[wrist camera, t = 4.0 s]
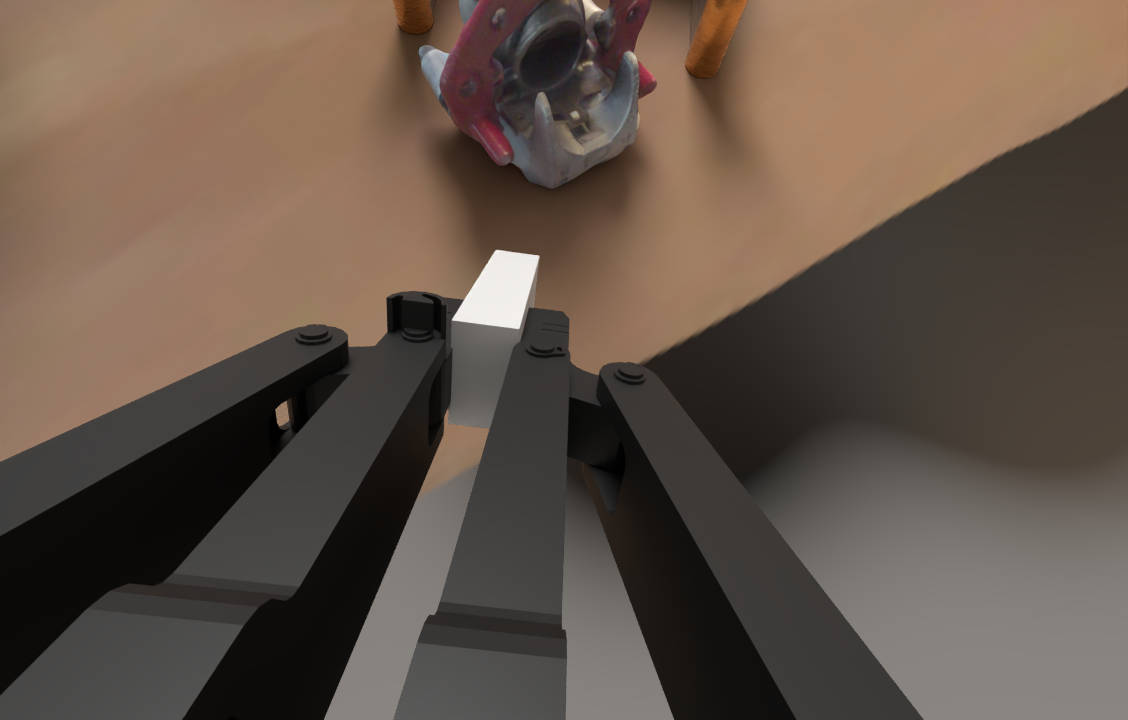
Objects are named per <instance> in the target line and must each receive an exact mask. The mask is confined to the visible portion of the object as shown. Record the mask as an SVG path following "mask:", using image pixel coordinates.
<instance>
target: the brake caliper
mask: <svg viewBox="0 0 1128 720" xmlns="http://www.w3.org/2000/svg"><path fill="white" fill-rule="evenodd" d="M650 5H651V0H610V4H609V6H608V8H607V10H606V11H603V10H601V9H600V8H598V7H597V6H596V5H595V4H594V3H593V1H592V0H459V9H460V14H461V18H462V20H463V23H464V27H463V29H462V32H461V34H460V37H459V39H458V41H457V42H456V44H455V46H454V47H453V48H452V50H451V52H450V53H444V52H442V51H440V50H438V49H436V48H435V47H433V46H430V45H424V46H422V47H420V49H419V57H420V60H421V68H422V72H423V74H424V76H425V78H426V80H427V81H428V82H429V84H430V85H431V87H432V89H433V91H434V94H435V96H436V98H437V99H438V101H439V102H440V103H441V105H442V106H443V107H444V108H445V110H446V111H447V113H448V114H449V116H450V117H451V119H452V120H453V122H454V124H455V125H456V126H457V127H458V128H459V129H460V130H461V131H463V132H464V133H465V134H467V135H468V136H470V137H471V138H473V139H475V140H476V141H478V142H480V143H481V144H482V145H483V147H484V149H485V150H486V152H487V153H488V155H489V156H490V157H491V158H492V160H493V161H494V162H495V163H496V164H498V165H499V166H504V165H507V164H508V163H513V164H514V165H515V166H517V167H518V168H519V169H520V170H521V171H522V172H523V174H524V176H525V177H526V178H527V180H528V181H530V182H531V183H534V184H538V185H542V186H544V187H546V188H550V189H554V188H556V187H559V186H560V185H562V184H564V183H566V182H569V181H570V180H572V179H574V178H576V177H577V176H579V175H581V174H582V173H584V172H585V171H587V170H588V169H589V168H591V167H592V166H594V165H597V164H601V163H604V162H606V161H608V160H610V159H611V158H613V157H615V156H617V155H619V154H621V153H622V152H623V151H625V150H626V149H627V148H629V147H630V146H631V145H632V144H633V143H634V142H635V140H636V131H637V130H638V129H639V123H640V116H639V113H638V99H640V98H642V97H644V96H645V95H647V94H649V93H651V92H652V91H653V90H654V89H655V87H656V86H657V82H656V80H655V78H654V77H653V75H652V74H651V73H650V72H649V71H648V70H647V69H646V68H645V67H644V66H643V65H642V64H641V63H640V62H639V61H638V60H637V59H636V57H635V55H634V54H633V52H634V49H635V44H636V40H637V37H638V34H639V31H640V30H641V28H642V26H643V23H644V21H645V18H646V16H647V14H648V12H649V8H650ZM632 10H633V11H632Z"/></svg>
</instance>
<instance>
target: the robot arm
mask: <svg viewBox="0 0 1128 720" xmlns="http://www.w3.org/2000/svg"><path fill="white" fill-rule="evenodd" d="M538 265H539V256H538V255H530V254H523V253H516V252H508V251H501V250H495V252H494V254H493V255H492V257H491V258H490V260H489V262H488V263H487V265H486V266H485V268H484V270H483V271H482V273H481V274H480V276H479V277H478V279H477V281H476V282H475V284H474V285H473V287H472V289H471V290H470V292H469V293H468V295H467V297H466V298H465V300H460V299H452V298H445V297H441V296H439V295H436V294H432V293H428V292H417V291H410V292H400V293H396V294H392V295H390V296H388V297H387V328H388V332H387V333H386V334H385V335H384V337H383V338H382V339H381V340H380V341H379V342H378V343H377V344H376V346H369V347H348V335H347V334H346V333H345V332H344V331H343V330H341V329H338V328H336V327H330V326H326V325H320V324H318V326H316V324H313V325H307V326H305V327H298V328H295V329H292V330H289V331H286V332H284V333H282V334H280V335H278V336H275V337H273V338H271V339H269V340H267V341H264V342H262V343H260V344H258V345H256V346H253V347H251V348H249V349H247V350H245V351H243V352H240V353H238V354H236V355H234V356H232V357H229V358H227V359H225V360H223V361H221V362H218V363H216V364H214V365H212V366H210V367H207V368H205V369H203V370H201V371H199V372H197V373H194V374H192V375H190V376H188V377H186V378H183V379H181V380H179V381H177V382H175V383H172V384H170V385H168V386H166V387H164V388H161V389H159V390H157V391H155V392H153V393H150V394H148V395H146V396H144V397H142V398H140V399H137V400H135V401H133V402H131V403H129V404H126V405H124V406H122V407H120V408H118V409H115V410H113V411H111V412H109V413H107V414H104V415H102V416H100V417H98V418H96V419H93V420H91V421H89V422H87V423H85V424H83V425H80V426H78V427H76V428H74V429H72V430H69V431H67V432H65V433H63V434H61V435H58V436H56V437H54V438H52V439H50V440H47V441H45V442H43V443H41V444H39V445H37V446H34V447H32V448H30V449H28V450H26V451H23V452H21V453H19V454H17V455H15V456H12V457H10V458H8V459H6V460H4V461H1V462H0V720H324V718H325V715H326V713H327V710H328V708H329V706H330V703H331V701H332V699H333V696H334V694H335V692H336V689H337V687H338V684H339V682H340V680H341V677H342V675H343V673H344V670H345V668H346V665H347V663H348V660H349V658H350V656H351V653H352V651H353V649H354V646H355V644H356V641H357V639H358V637H359V634H360V632H361V629H362V627H363V625H364V623H365V620H366V618H367V615H368V613H369V611H370V608H371V606H372V603H373V601H374V599H375V596H376V594H377V592H378V589H379V587H380V585H381V582H382V580H383V577H384V575H385V573H386V570H387V568H388V565H389V563H390V561H391V558H392V556H393V553H394V551H395V549H396V546H397V544H398V542H399V539H400V537H401V534H402V532H403V530H404V527H405V525H406V523H407V520H408V518H409V515H410V513H411V511H412V508H413V506H414V504H415V501H416V499H417V496H418V494H419V492H420V489H421V487H422V485H423V482H424V480H425V477H426V475H427V473H428V470H429V468H430V466H431V463H432V461H433V458H434V456H435V454H436V451H437V449H438V446H439V444H440V442H441V439H442V437H443V433H444V416H445V413H446V411H447V409H448V407H449V417H448V424H456V425H464V426H472V427H481V428H489V429H490V430H489V433H488V437H487V440H486V444H485V447H484V451H483V454H482V458H481V461H480V464H479V468H478V471H477V475H476V478H475V482H474V486H473V489H472V492H471V496H470V499H469V503H468V506H467V510H466V513H465V517H464V520H463V524H462V527H461V530H460V535H459V537H458V541H457V544H456V548H455V552H454V555H453V558H452V562H451V566H450V569H449V572H448V576H447V579H446V583H445V586H444V590H443V593H442V596H441V600H440V603H439V606H438V609H437V612H436V614H435V615H429V616H428V618H427V619H426V621H425V623H424V625H423V628H422V631H421V634H420V636H419V639H418V642H417V645H416V648H415V651H414V655H413V658H412V661H411V664H410V668H409V672H408V674H407V677H406V681H405V684H404V687H403V691H402V693H401V697H400V700H399V703H398V706H397V710H396V713H395V716H394V720H565V713H566V711H565V710H566V666H567V639H566V631H565V630H562V622H561V621H562V620H561V619H562V588H563V587H562V585H563V558H564V529H565V497H566V470H567V468H566V467H567V456H568V457H571V458H574V459H577V460H580V461H582V462H583V465H582V469H583V475H584V478H585V480H586V483H587V486H588V488H589V491H590V494H591V497H592V499H593V502H594V505H595V507H596V510H597V513H598V515H599V518H600V521H601V523H602V526H603V529H604V532H605V534H606V537H607V540H608V542H609V545H610V548H611V551H612V553H613V556H614V559H615V561H616V564H617V567H618V569H619V572H620V575H621V577H622V580H623V583H624V586H625V588H626V591H627V594H628V596H629V599H630V602H631V604H632V607H633V610H634V612H635V615H636V618H637V621H638V623H639V626H640V629H641V631H642V634H643V637H644V639H645V642H646V645H647V648H648V650H649V653H650V656H651V658H652V661H653V664H654V666H655V669H656V672H657V675H658V677H659V680H660V683H661V685H662V688H663V691H664V693H665V696H666V699H667V702H668V704H669V707H670V710H671V712H672V715H673V718H674V720H923V718H922V717H921V716H920V714H919V713H918V712H917V710H916V709H915V708H914V707H913V705H912V704H911V703H910V701H909V700H908V699H907V698H906V696H905V695H904V694H903V692H902V691H901V690H900V689H899V687H898V686H897V685H896V683H895V682H894V681H893V680H892V678H891V677H890V676H889V674H888V673H887V672H886V670H885V669H884V668H883V667H882V665H881V664H880V663H879V661H878V660H877V659H876V658H875V656H874V655H873V654H872V652H871V651H870V650H869V649H868V647H867V646H866V645H865V644H864V642H863V641H862V639H861V638H860V637H859V636H858V634H857V633H856V632H855V631H854V629H853V628H852V627H851V625H850V624H849V623H848V621H847V620H846V619H845V618H844V616H843V615H842V614H841V612H840V611H839V610H838V608H837V607H836V606H835V605H834V603H833V602H832V601H831V599H830V598H829V597H828V596H827V594H826V593H825V592H824V590H823V589H822V588H821V587H820V585H819V584H818V583H817V581H816V580H815V579H814V578H813V576H812V575H811V574H810V572H809V571H808V570H807V568H806V567H805V566H804V565H803V563H802V562H801V561H800V559H799V558H798V557H797V556H796V554H795V553H794V552H793V550H792V549H791V548H790V547H789V545H788V544H787V543H786V541H785V540H784V539H783V538H782V536H781V535H780V534H779V532H778V531H777V530H776V528H775V527H774V526H773V525H772V523H771V522H770V521H769V520H768V518H767V517H766V516H765V514H764V513H763V512H762V510H761V509H760V508H759V507H758V505H757V504H756V503H755V501H754V500H753V499H752V497H751V496H750V495H749V494H748V492H747V491H746V490H745V488H744V487H743V486H742V485H741V483H740V482H739V481H738V479H737V478H736V477H735V476H734V474H733V473H732V472H731V470H730V469H729V468H728V467H727V465H726V464H725V463H724V461H723V460H722V459H721V457H720V456H719V455H718V454H717V453H716V451H715V450H714V448H713V447H712V446H711V445H710V443H709V442H708V441H707V439H706V438H705V437H704V435H703V434H702V433H701V432H700V430H699V429H698V428H697V426H696V425H695V424H694V423H693V421H692V420H691V419H690V418H689V416H688V415H687V414H686V412H685V411H684V410H683V409H682V407H681V406H680V405H679V403H678V402H677V401H676V399H675V398H674V397H673V396H672V394H671V393H670V392H669V390H668V389H667V388H666V387H665V385H664V384H663V383H662V381H661V380H660V379H659V378H658V376H657V375H655V374H654V373H653V372H652V371H650V370H648V369H646V368H644V367H643V366H641V365H639V364H636V365H635V363H631V362H627V363H623V362H617V363H609V364H607V365H604V366H603V367H602V368H601V370H600V373H599V376H598V375H595V374H591V373H589V372H586V371H583V370H581V369H579V368H578V367H576V366H575V365H573V364H572V363H571V361H570V353H569V350H568V343H569V318H568V317H567V316H566V315H565V314H564V313H563V312H561V311H553V310H546V309H538V308H534V302H535V293H536V284H537V274H538ZM286 400H287V406H288V414H289V421H288V422H287V423H285V424H284V425H282V426H280V427H279V426H278V424H277V419H276V412H275V409H276V408H277V407H278V406H279V405H280V404H282V403H283V402H285V401H286Z"/></svg>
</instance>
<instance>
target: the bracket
mask: <svg viewBox="0 0 1128 720" xmlns="http://www.w3.org/2000/svg"><path fill="white" fill-rule="evenodd" d="M747 1H748V0H692V2H691V31H690V50H689V52H688V55H687V58H686V61H685V65H686V68H687V70H688V71H689V72H690V73H691V74H692V75H694V76H696V77H699V78H710V77H712V76H714V75H715V74H716V73H717V71H718V69H719V67H720V64H721V62H722V60H723V57H724V55H725V53H726V50H727V48H728V46H729V43H730V41H731V39H732V36H733V34H734V32H735V29H736V27H737V25H738V22H739V20H740V18H741V15H742V13H743V11H744V8H745V6H746V4H747ZM434 2H435V0H393V4H394V8H395V12H396V16H397V20H398V24H399V26H400V28H401V29H402V30H404V31H405V32H407V33H411V34H421V33H424V32H426V31H428V30H429V29H430V28H431V27H432V25H433V16H432V9H433V6H434Z"/></svg>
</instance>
